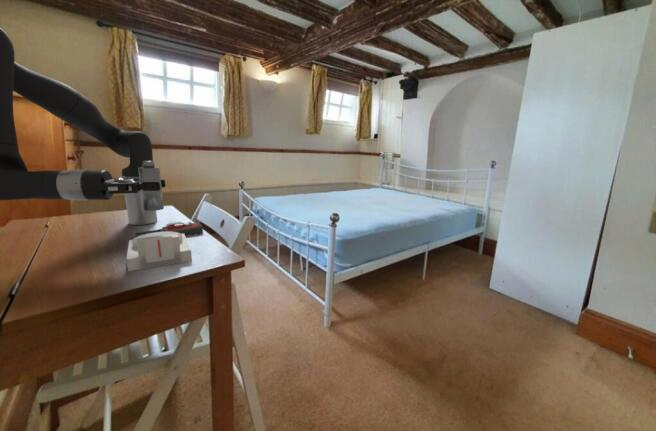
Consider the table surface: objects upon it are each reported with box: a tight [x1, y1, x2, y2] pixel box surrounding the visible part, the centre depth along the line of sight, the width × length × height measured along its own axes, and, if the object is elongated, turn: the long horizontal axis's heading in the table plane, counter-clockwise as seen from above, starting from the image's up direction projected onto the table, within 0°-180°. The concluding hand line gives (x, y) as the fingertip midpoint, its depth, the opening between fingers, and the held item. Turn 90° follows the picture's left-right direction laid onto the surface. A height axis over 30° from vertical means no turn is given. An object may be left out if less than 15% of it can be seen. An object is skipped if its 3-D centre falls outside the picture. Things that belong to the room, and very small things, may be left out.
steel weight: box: [138, 160, 165, 212], centre depth 77 cm, size 5×5×13 cm
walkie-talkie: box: [135, 221, 204, 237], centre depth 97 cm, size 9×4×20 cm
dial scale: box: [126, 232, 193, 272], centre depth 79 cm, size 17×14×8 cm
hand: (162, 184), depth 78 cm, fingers closed on steel weight, 4 cm apart
